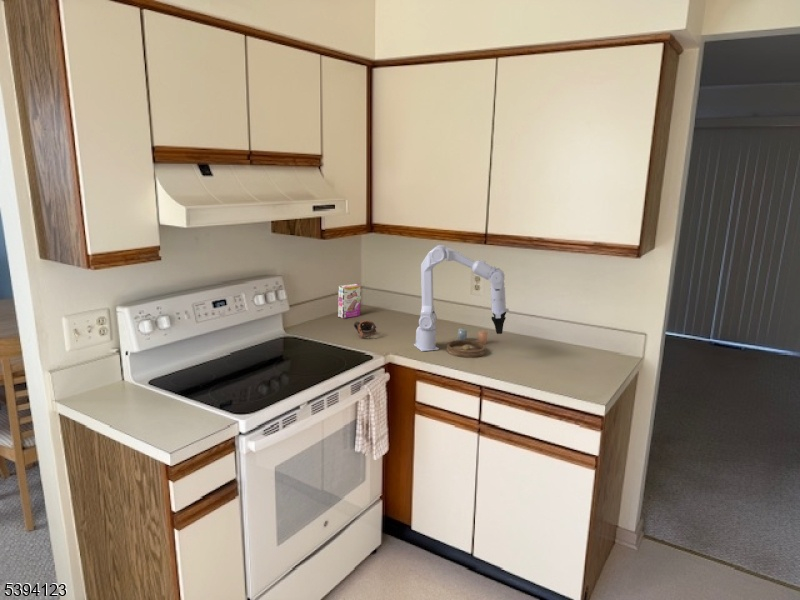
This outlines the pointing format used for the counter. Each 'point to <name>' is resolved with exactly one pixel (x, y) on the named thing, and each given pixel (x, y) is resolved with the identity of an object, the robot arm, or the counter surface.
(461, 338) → the slate bead
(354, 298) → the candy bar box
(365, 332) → the pottery mug
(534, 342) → the counter surface
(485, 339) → the peach rounded cylinder
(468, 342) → the walnut groove tray
